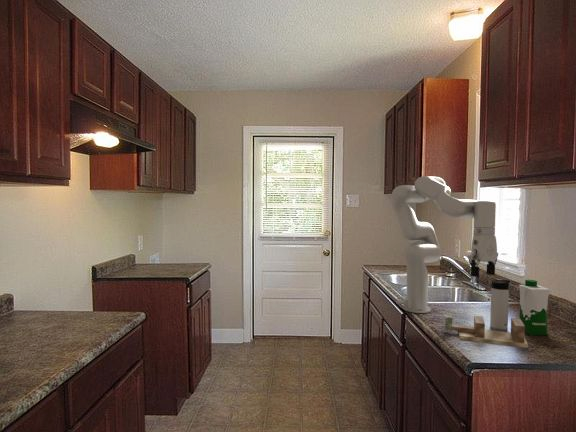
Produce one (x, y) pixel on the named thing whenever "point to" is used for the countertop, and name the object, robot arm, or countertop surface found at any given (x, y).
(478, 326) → the sliding jaw
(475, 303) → the countertop surface
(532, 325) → the milk carton
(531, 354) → the countertop surface
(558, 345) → the countertop surface
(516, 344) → the base
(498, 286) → the travel mug
